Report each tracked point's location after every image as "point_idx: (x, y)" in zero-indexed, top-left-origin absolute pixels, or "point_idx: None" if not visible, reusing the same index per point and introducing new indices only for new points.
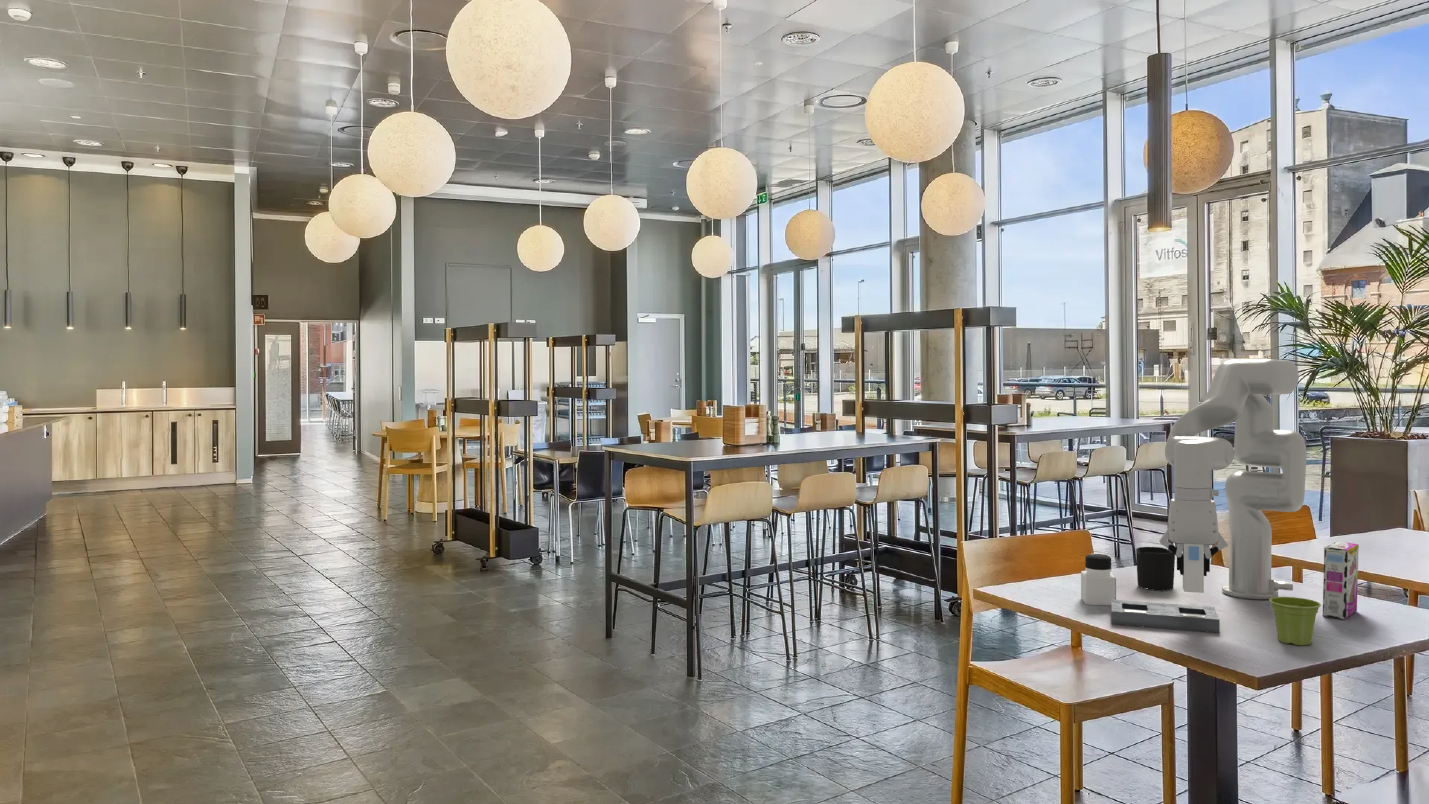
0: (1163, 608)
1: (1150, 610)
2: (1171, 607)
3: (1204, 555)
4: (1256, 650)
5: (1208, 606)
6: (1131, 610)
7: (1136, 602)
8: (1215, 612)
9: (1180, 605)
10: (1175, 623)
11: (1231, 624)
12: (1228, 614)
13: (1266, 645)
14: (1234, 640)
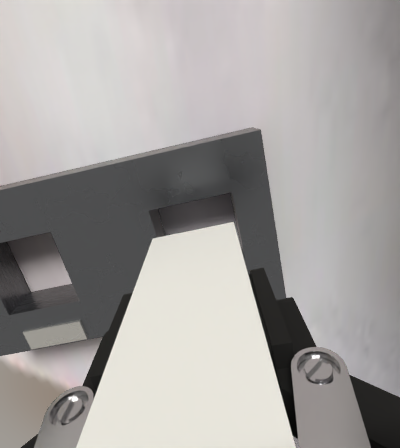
0: (110, 249)
1: (85, 294)
2: (129, 222)
3: (296, 436)
4: (355, 375)
5: (241, 135)
6: (42, 333)
7: (6, 210)
8: (271, 218)
9: (148, 174)
10: None
11: (306, 161)
12: (295, 2)
13: (381, 330)
14: (312, 324)
